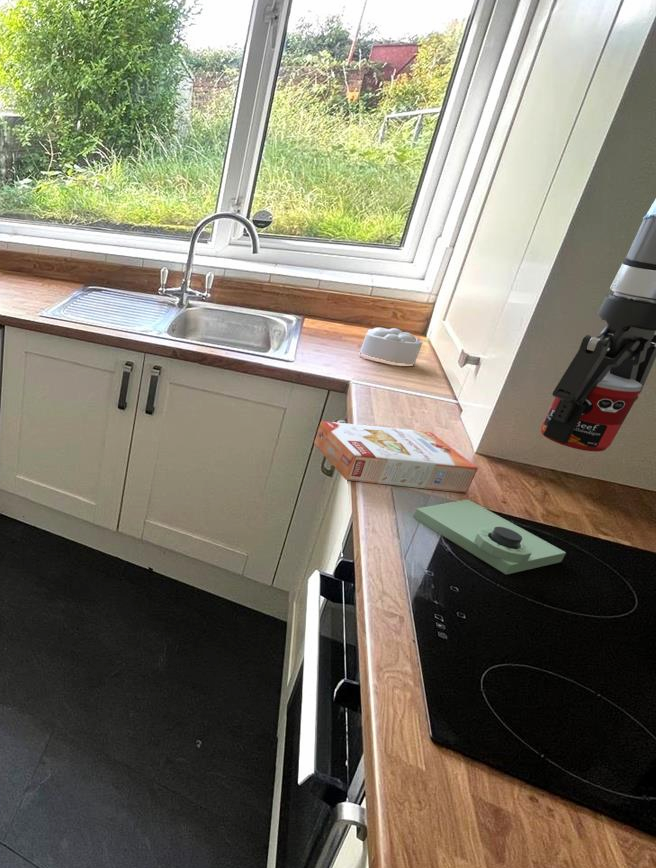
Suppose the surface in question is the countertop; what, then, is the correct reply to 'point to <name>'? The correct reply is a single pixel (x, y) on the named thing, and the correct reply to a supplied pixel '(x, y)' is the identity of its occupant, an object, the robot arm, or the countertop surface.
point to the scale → (487, 536)
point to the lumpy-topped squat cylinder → (391, 345)
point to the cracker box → (394, 457)
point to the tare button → (506, 537)
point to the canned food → (600, 413)
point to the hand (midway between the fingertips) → (574, 436)
